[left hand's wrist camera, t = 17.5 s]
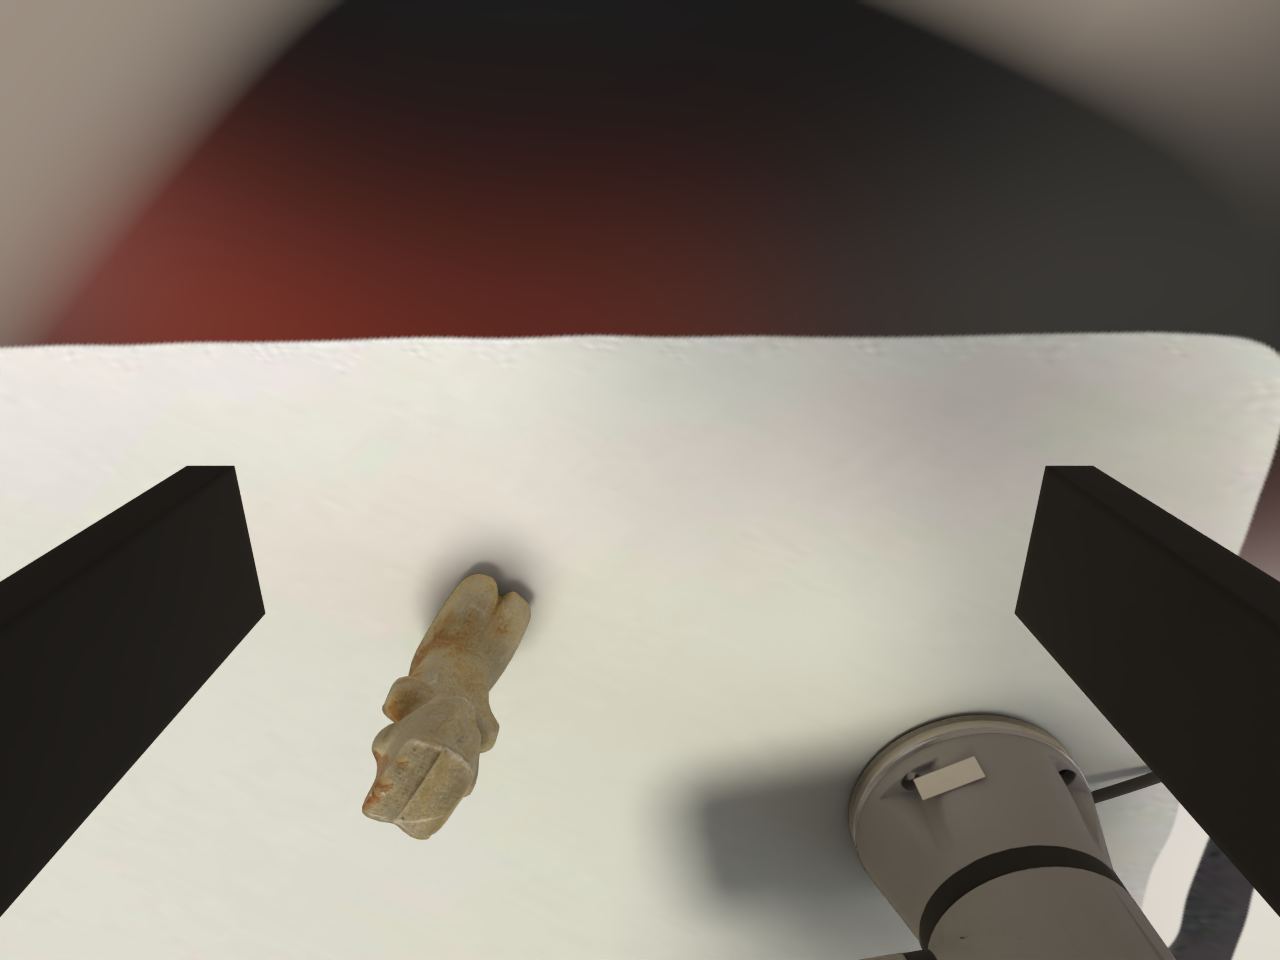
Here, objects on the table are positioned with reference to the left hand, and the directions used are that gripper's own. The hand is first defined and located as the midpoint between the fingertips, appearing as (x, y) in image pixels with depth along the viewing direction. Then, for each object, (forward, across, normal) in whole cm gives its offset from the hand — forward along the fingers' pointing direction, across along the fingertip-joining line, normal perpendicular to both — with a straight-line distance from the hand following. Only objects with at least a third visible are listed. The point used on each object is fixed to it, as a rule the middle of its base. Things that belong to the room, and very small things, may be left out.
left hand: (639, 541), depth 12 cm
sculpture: (+28, -10, -19) cm, 35 cm away
